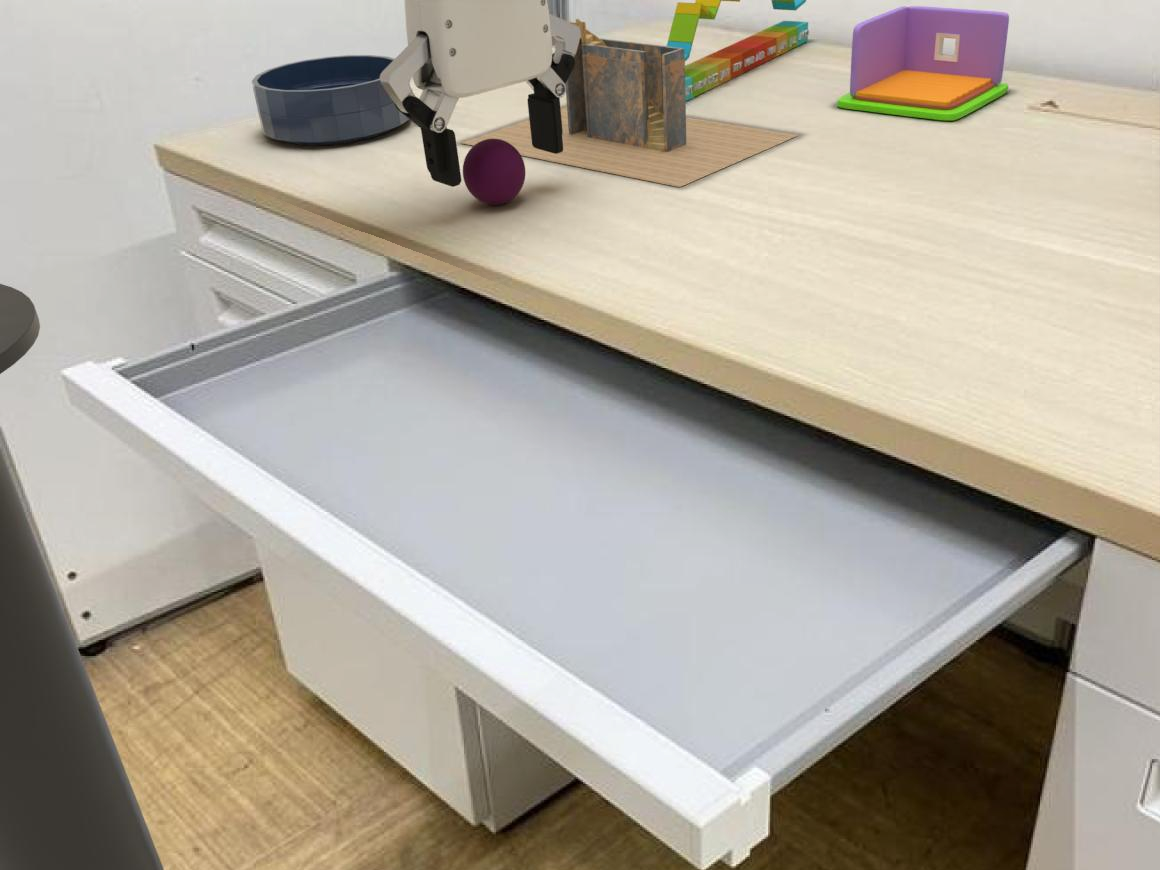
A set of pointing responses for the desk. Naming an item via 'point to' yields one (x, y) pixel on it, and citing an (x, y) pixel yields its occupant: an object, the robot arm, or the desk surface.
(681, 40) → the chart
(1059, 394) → the desk surface
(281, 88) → the bowl
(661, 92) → the architectural model on board
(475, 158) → the plum
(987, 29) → the dollhouse room
